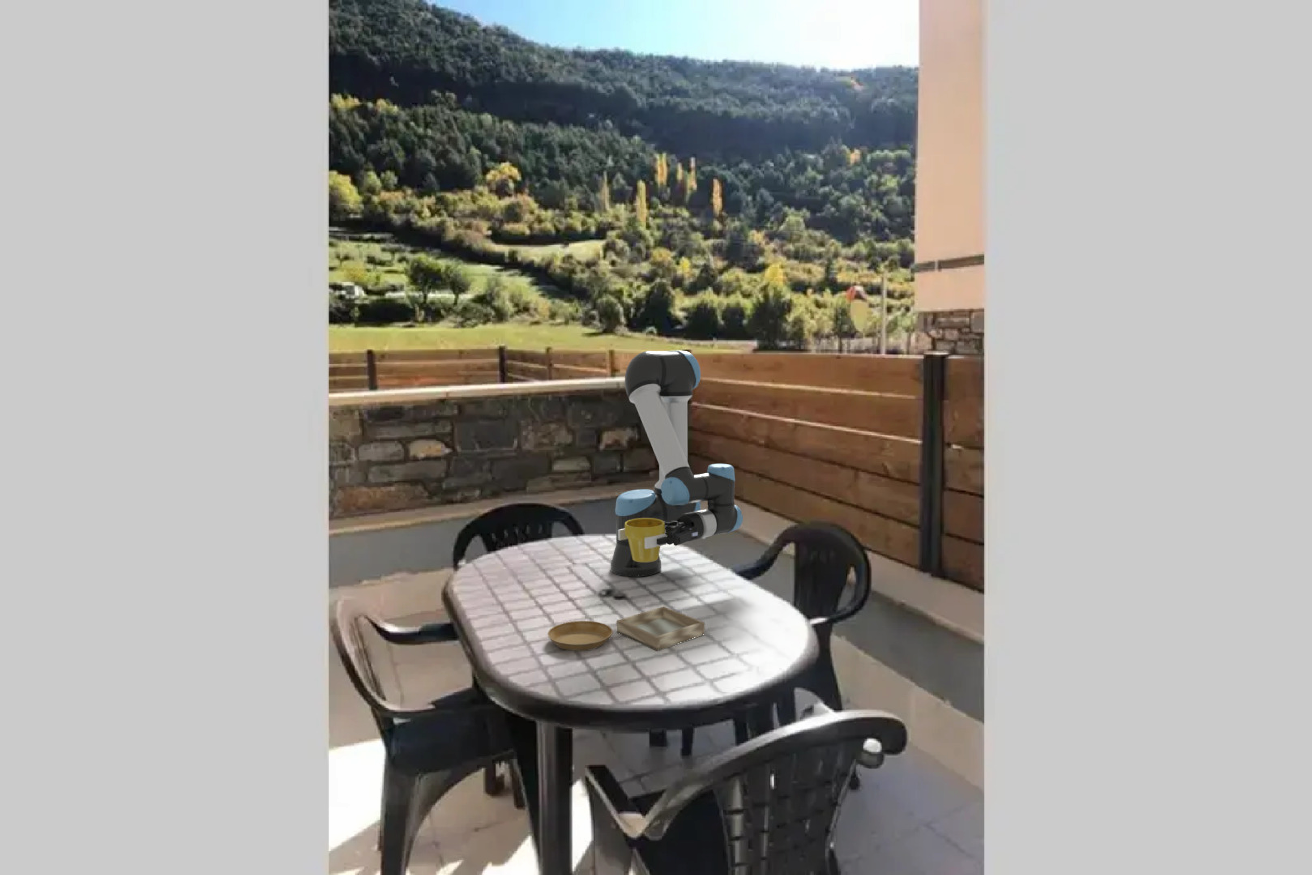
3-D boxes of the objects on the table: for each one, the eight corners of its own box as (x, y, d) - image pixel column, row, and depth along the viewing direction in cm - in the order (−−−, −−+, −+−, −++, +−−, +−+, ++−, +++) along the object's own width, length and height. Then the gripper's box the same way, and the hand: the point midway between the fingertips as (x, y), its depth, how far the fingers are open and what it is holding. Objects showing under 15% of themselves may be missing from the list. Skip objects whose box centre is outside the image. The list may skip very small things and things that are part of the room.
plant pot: (621, 563, 203) (620, 526, 202) (629, 552, 213) (628, 516, 212) (661, 565, 201) (661, 527, 200) (667, 554, 211) (667, 518, 210)
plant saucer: (553, 630, 191) (553, 620, 190) (615, 631, 190) (615, 620, 190) (542, 655, 176) (542, 643, 176) (609, 655, 175) (609, 644, 175)
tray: (663, 618, 198) (663, 606, 197) (704, 634, 187) (704, 622, 186) (616, 632, 188) (616, 620, 188) (656, 651, 177) (656, 638, 177)
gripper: (725, 547, 210) (660, 563, 196) (668, 531, 227) (605, 544, 213) (725, 519, 209) (660, 533, 195) (668, 505, 226) (605, 517, 212)
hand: (632, 539), depth 204 cm, fingers closed on plant pot, 10 cm apart
